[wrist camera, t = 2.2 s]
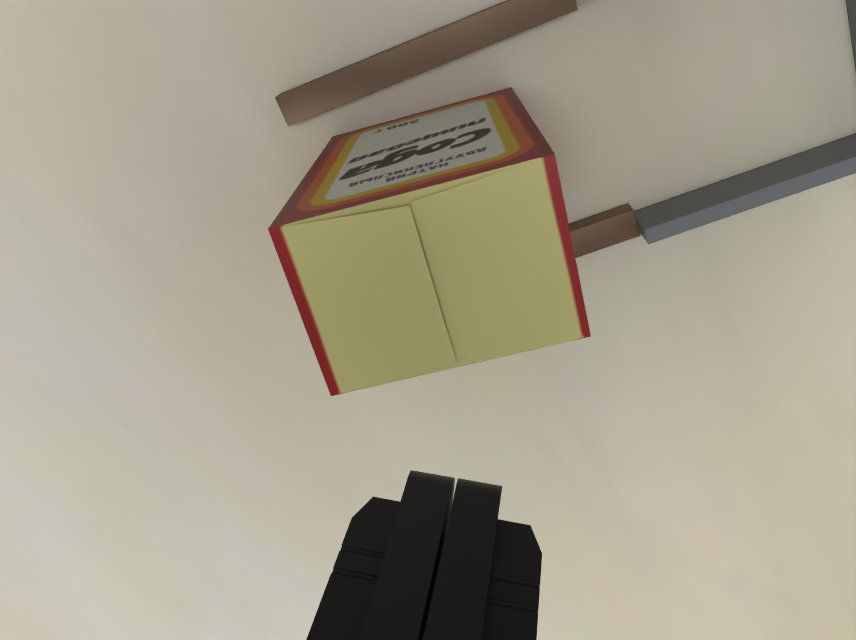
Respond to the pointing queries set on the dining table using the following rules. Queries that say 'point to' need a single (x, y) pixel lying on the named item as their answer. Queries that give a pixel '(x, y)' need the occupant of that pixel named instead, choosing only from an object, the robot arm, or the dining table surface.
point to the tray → (752, 183)
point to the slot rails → (523, 10)
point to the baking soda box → (431, 245)
